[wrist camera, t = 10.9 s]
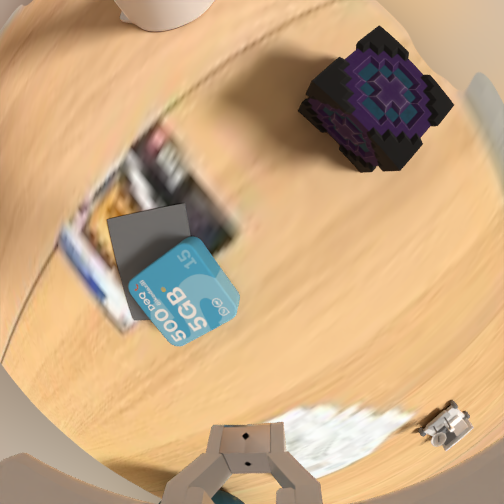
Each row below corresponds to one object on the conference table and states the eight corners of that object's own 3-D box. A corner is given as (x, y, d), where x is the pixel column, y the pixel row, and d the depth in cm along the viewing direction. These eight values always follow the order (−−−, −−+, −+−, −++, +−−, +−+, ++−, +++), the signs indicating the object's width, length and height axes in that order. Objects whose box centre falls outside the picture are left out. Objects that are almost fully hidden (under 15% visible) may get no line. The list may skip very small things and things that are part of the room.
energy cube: (350, 62, 30) (379, 25, 18) (408, 120, 32) (454, 104, 20) (297, 111, 33) (311, 80, 21) (360, 172, 34) (400, 170, 23)
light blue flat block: (241, 314, 35) (175, 350, 37) (244, 299, 39) (182, 334, 41) (186, 238, 33) (123, 285, 35) (195, 231, 37) (136, 274, 39)
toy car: (425, 453, 38) (464, 420, 35) (412, 425, 48) (447, 395, 45) (448, 459, 40) (480, 432, 38) (437, 437, 50) (466, 411, 47)
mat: (108, 219, 38) (107, 219, 37) (184, 203, 37) (183, 203, 36) (134, 319, 42) (133, 320, 41) (207, 314, 41) (207, 316, 40)
